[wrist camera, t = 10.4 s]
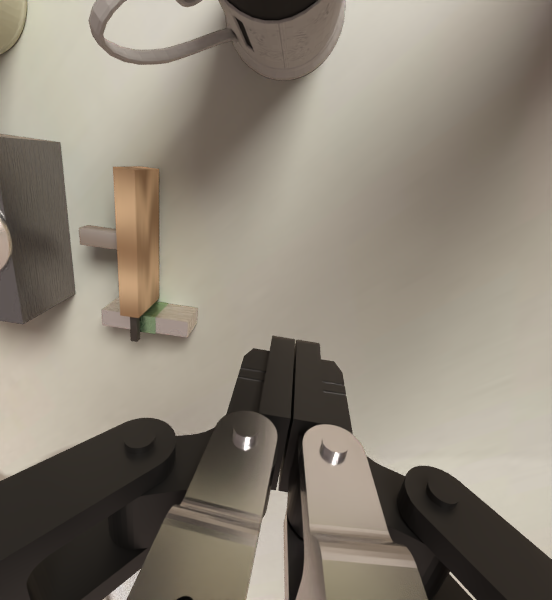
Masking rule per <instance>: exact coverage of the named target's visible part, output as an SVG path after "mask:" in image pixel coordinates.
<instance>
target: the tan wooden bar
mask: <svg viewBox="0 0 552 600" xmlns="http://www.w3.org/2000/svg"><path fill="white" fill-rule="evenodd" d="M113 175H114V196H115V217H116V229H112V228H105V227H98V226H91V225H87V226H84V227H80V228H79V237H80V245H87V246H94V247H101V248H108V249H115V250H117V258H118V279H119V299H120V316H127V317H130V333H131V341H136V342H137V341H138V340H139V339H140V316H141V315H142V314H143V313H144V312H146V311H147V310H148V309H149V308H150V307H151V306H152V305H153V304H154V303H155V302H156V301H157V300H158V299H159V169H155V168H148V167H141V166H138V167H113Z"/></svg>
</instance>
